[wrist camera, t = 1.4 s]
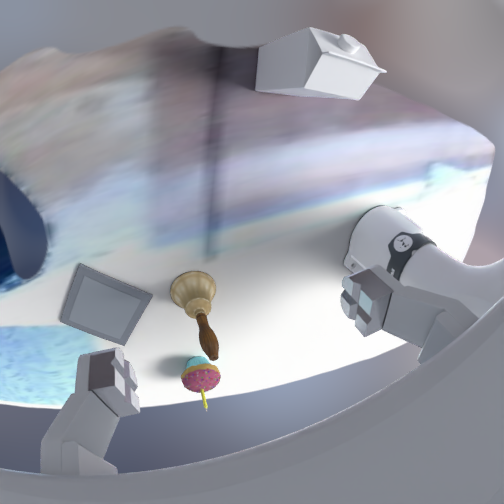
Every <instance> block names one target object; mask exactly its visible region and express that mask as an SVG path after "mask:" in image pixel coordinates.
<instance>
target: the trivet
mask: <svg viewBox="0 0 504 504" xmlns="http://www.w3.org/2000/svg"><path fill="white" fill-rule="evenodd" d="M151 298H152V294H150V293H147V292H145V291H143V290H140V289H138V288H135V287H133V286H130V285H128V284H126V283H123V282H121V281H119V280H116V279H114V278H112V277H109V276H107V275H105V274H103V273H100V272H98V271H96V270H94V269H91V268H89V267H87V266H85V265H83V264H81V263H80V265H79V268H78V270H77V273H76V276H75V278H74V281H73V284H72V287H71V290H70V292H69V295H68V298H67V301H66V304H65V308H64V311H63V314H62V317H61V321H60V322H62V323H64V324H67V325H69V326H72V327H74V328H77V329H79V330H82V331H84V332H87V333H89V334H92V335H95V336H98V337H100V338H103V339H106V340H109V341H112V342H114V343H117V344H120V345H123V346H125V344H126V342H127V340H128V338H129V337H130V335H131V333H132V331H133V329H134V328H135V326H136V324H137V322H138V321H139V319H140V317H141V315H142V314H143V312H144V310H145V308H146V307H147V305H148V303H149V302H150V300H151Z"/></svg>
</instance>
